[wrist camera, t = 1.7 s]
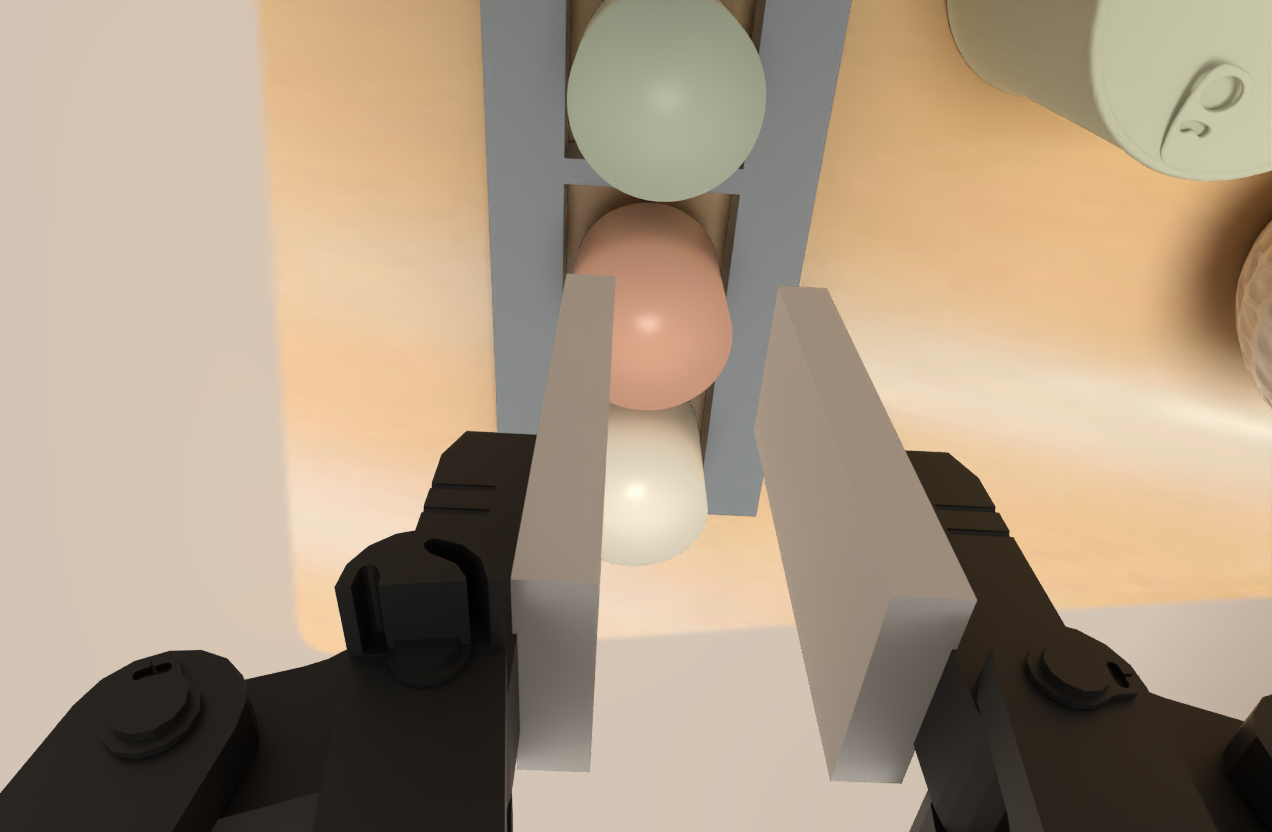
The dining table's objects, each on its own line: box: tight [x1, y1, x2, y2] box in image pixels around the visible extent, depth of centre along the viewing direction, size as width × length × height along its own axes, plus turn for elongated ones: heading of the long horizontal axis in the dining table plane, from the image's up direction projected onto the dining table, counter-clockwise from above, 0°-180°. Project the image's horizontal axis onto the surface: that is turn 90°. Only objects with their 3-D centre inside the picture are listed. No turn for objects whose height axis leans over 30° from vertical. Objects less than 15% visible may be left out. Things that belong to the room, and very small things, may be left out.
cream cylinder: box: [601, 401, 708, 566], centre depth 35 cm, size 6×6×6 cm
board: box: [480, 0, 852, 517], centre depth 35 cm, size 26×13×2 cm, turn 177°
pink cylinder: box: [573, 202, 733, 410], centre depth 31 cm, size 6×6×6 cm
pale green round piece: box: [567, 0, 766, 202], centre depth 27 cm, size 6×6×6 cm
